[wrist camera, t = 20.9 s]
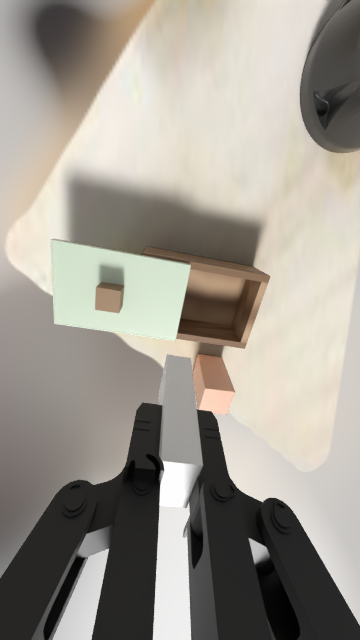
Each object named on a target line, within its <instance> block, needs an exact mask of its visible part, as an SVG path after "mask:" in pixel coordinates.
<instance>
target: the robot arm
mask: <svg viewBox="0 0 360 640" xmlns="http://www.w3.org/2000/svg"><path fill="white" fill-rule="evenodd" d="M300 104H301V112H302V117H303V121H304V124H305V126H306V129H307V131H308V133H309V134H310V136H311V137H312V138H313V140H314V141H315V142H316V143H317V144H318V145H320V146H321V147H322V148H324V149H326V150H328V151H331V152H336V153H349V152H354V151H357V150H360V0H345V1H344V3H343V4H342V5H341V6H340V7H339V8H338V9H337V11H336V12H335V13H334V14H333V16H332V17H331V18H330V19H329V21H328V22H327V23H326V24H325V26H324V27H323V29H322V30H321V32H320V33H319V35H318V36H317V38H316V40H315V42H314V44H313V46H312V48H311V50H310V52H309V55H308V58H307V61H306V64H305V67H304V71H303V75H302V81H301V90H300ZM159 391H160V392H159V402H158V405H157V404H149V403H142V404H141V405H140V407H139V408H138V409H137V411H136V416H135V422H134V427H133V432H132V437H131V442H130V447H129V452H128V457H127V462H126V465H125V467H124V469H123V470H122V472H121V473H120V474H119V475H118V476H117V477H115V478H114V479H112V480H110V481H107V482H104V483H100V484H96V485H92V484H91V483H89V482H88V481H84V480H77V481H73V482H70V483H69V484H67V485H65V486H64V487H62V489H61V490H60V491H59V492H58V493H57V494H56V495H55V497H54V498H53V500H52V501H51V503H50V504H49V506H48V507H47V509H46V510H45V512H44V513H43V515H42V516H41V518H40V519H39V521H38V522H37V524H36V525H35V527H34V529H33V530H32V531H31V533H30V534H29V536H28V537H27V539H26V541H25V542H24V543H23V545H22V546H21V548H20V549H19V551H18V553H17V554H16V556H15V557H14V559H13V560H12V562H11V563H10V565H9V566H8V568H7V569H6V571H5V572H4V574H3V575H2V577H1V578H0V640H52V639H53V636H54V634H55V632H56V630H57V627H58V625H59V623H60V620H61V618H62V616H63V613H64V611H65V609H66V607H67V604H68V602H69V600H70V598H71V595H72V593H73V591H74V589H75V586H76V584H77V582H78V579H79V577H80V575H81V573H82V570H83V568H84V566H85V563H86V561H87V559H88V557H89V556H90V555H93V554H96V553H98V552H101V551H103V550H106V549H108V548H109V553H108V558H107V564H106V569H105V573H104V579H103V584H102V589H101V595H100V599H99V604H98V609H97V615H96V620H95V625H94V630H93V635H92V640H153V622H154V602H155V581H156V563H157V562H156V561H157V542H158V522H159V506H170V507H183V508H186V507H187V505H188V503H189V506H190V516H189V519H188V521H187V524H186V526H185V529H184V533H183V537H186V536H187V537H188V560H189V589H190V615H191V640H360V625H359V624H358V622H357V620H356V619H355V617H354V615H353V613H352V612H351V610H350V608H349V607H348V605H347V603H346V601H345V600H344V598H343V596H342V594H341V593H340V591H339V589H338V587H337V586H336V584H335V582H334V581H333V579H332V577H331V576H330V574H329V572H328V570H327V569H326V567H325V565H324V563H323V562H322V560H321V558H320V557H319V555H318V553H317V551H316V550H315V548H314V546H313V544H312V543H311V541H310V539H309V537H308V536H307V534H306V532H305V531H304V529H303V527H302V526H301V524H300V522H299V520H298V519H297V517H296V515H295V514H294V513H293V511H292V510H291V509H290V507H288V506H287V505H286V504H285V503H284V502H283V501H280V500H279V499H276V498H268V499H266V500H265V501H264V502H261V501H259V500H256V499H254V498H252V497H250V496H248V495H246V494H245V493H243V492H241V491H240V490H239V489H238V488H237V487H236V486H235V484H234V483H233V481H232V480H231V479H230V477H229V474H228V470H227V465H226V461H225V456H224V451H223V447H222V442H221V437H220V433H219V427H218V422H217V419H216V418H215V416H214V415H213V413H212V411H205V410H198V409H197V408H196V401H195V391H194V382H193V373H192V365H191V358H186V357H179V356H173V355H167V357H166V361H165V366H164V371H163V375H162V380H161V385H160V390H159Z"/></svg>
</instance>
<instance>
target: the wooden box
mask: <svg viewBox="0 0 360 640" xmlns="http://www.w3.org/2000/svg"><path fill="white" fill-rule="evenodd" d="M142 255H144V256H150V257H155V258H160V259H166V260H171V261H177V262H182V263H187V264H191V268H190V273H189V278H188V283H187V287H186V292H185V297H184V302H183V307H182V312H181V317H180V321H179V326H178V331H177V336H176V339H182V340H189V341H196V342H203V343H209V344H216V345H223V346H230V347H237V348H244V349H245V346H246V344H247V341H248V338H249V335H250V332H251V330H252V327H253V324H254V321H255V318H256V315H257V313H258V310H259V307H260V304H261V301H262V299H263V296H264V293H265V290H266V287H267V284H268V282H269V279H270V276H269V275H267V274H265V273H264V272H262V271H260V270H258V269H256V268H255V267H252V266H247V265H242V264H236V263H231V262H226V261H221V260H215V259H210V258H205V257H200V256H194V255H189V254H184V253H179V252H173V251H168V250H163V249H158V248H152V247H146V249H145V250H144V251H143V252H142Z"/></svg>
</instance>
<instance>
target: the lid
mask: <svg viewBox="0 0 360 640" xmlns="http://www.w3.org/2000/svg"><path fill="white" fill-rule="evenodd" d="M51 258H52V281H53V305H54V323H55V324H61V325H67V326H74V327H82V328H88V329H96V330H103V331H109V332H116V333H123V334H130V335H137V336H144V337H151V338H158V339H165V340H172V341H176V336H177V331H178V326H179V321H180V317H181V312H182V307H183V302H184V297H185V292H186V287H187V283H188V278H189V273H190V268H191V264H187V263H182V262H177V261H171V260H166V259H160V258H155V257H150V256H144V255H139V254H133V253H128V252H123V251H117V250H112V249H106V248H101V247H96V246H90V245H85V244H80V243H74V242H69V241H63V240H58V239H51Z"/></svg>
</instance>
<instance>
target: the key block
mask: <svg viewBox="0 0 360 640" xmlns="http://www.w3.org/2000/svg"><path fill="white" fill-rule="evenodd" d="M193 381H194V387H195V394H196V400H197V406H198V410H205V411H212V413H215V414H225V415H226V414H227V413H228V410H229V407H230V405H231V402H232V399H233V396H234V394H235V390H234V388H233V385H232V383H231V380H230V377H229V375H228V372H227V370H226V367H225V364H224V362H223V359H222V357H216V356H209V355H202V354H198V355H197V359H196V362H195V366H194V370H193Z"/></svg>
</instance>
